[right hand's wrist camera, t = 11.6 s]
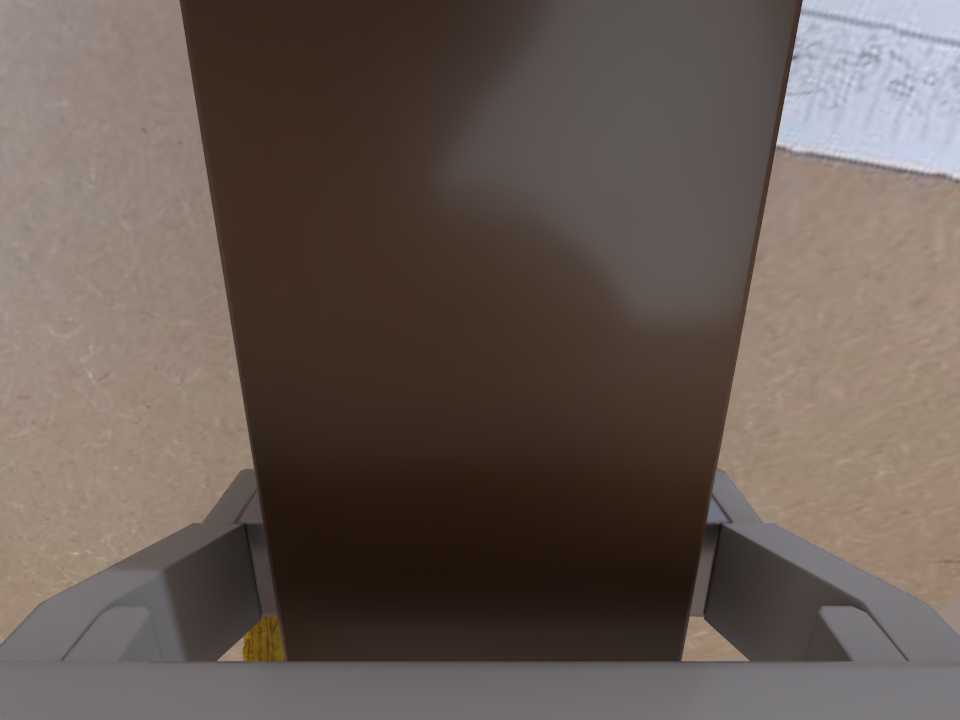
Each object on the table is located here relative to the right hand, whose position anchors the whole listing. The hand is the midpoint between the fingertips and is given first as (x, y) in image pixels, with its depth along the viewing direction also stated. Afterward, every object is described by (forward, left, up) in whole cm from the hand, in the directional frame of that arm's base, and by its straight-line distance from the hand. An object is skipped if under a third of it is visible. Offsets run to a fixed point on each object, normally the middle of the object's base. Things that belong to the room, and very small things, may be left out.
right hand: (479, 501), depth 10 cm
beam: (+21, +23, -3) cm, 31 cm away
